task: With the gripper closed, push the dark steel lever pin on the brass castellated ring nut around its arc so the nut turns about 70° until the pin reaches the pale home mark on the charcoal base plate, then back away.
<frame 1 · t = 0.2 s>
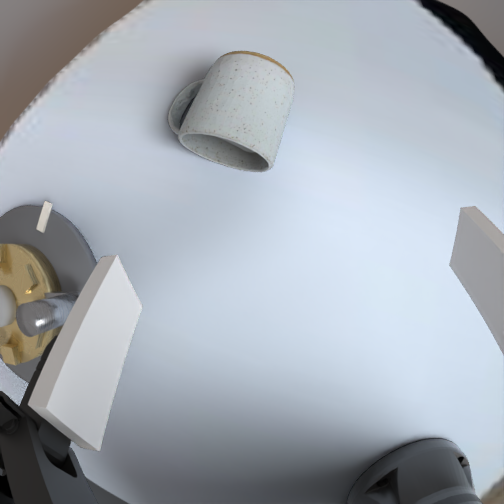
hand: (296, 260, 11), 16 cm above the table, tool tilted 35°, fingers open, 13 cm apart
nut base: (33, 298, 29), on the table
ceramic mug: (229, 127, 28), on the table
ring nut: (8, 307, 23), point 6 cm above the table, hinge at 0.0°
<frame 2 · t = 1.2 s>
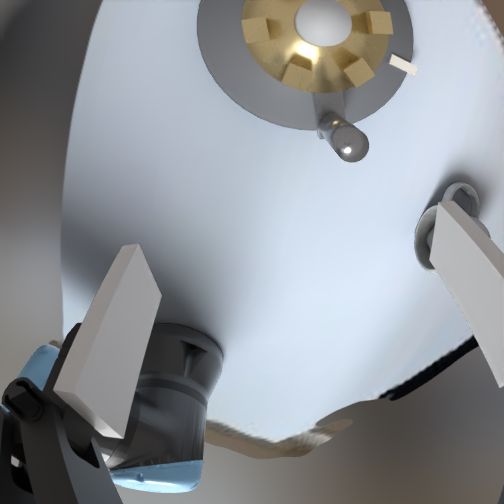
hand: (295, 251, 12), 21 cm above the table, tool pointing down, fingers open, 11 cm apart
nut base: (308, 28, 24), on the table
ceramic mug: (443, 216, 35), on the table
ring nut: (326, 47, 20), point 6 cm above the table, hinge at 0.0°
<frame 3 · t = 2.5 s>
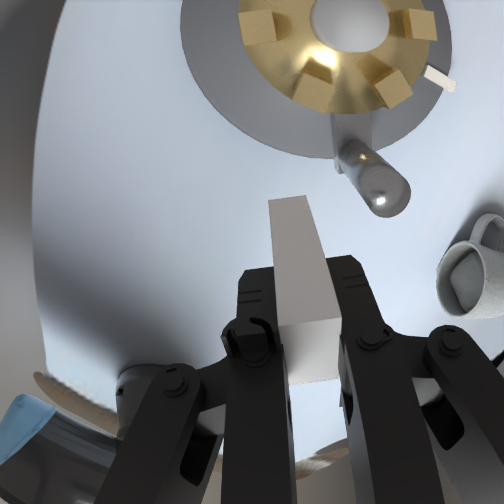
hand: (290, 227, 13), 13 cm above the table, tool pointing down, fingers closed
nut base: (324, 28, 18), on the table
ceramic mug: (468, 250, 30), on the table
ring nut: (354, 53, 14), point 6 cm above the table, hinge at 0.0°
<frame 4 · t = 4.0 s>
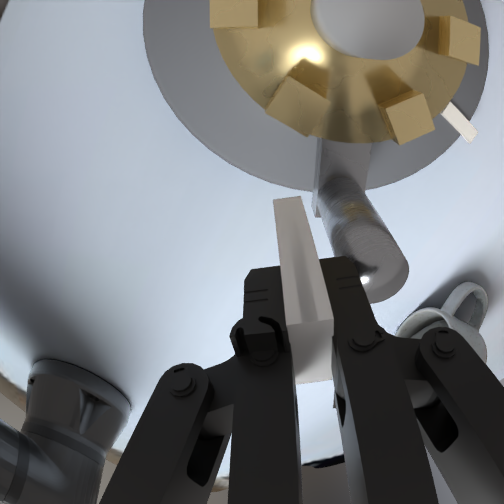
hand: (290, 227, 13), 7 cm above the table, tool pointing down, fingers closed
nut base: (331, 23, 14), on the table
ceramic mug: (436, 316, 27), on the table
ring nut: (365, 60, 10), point 6 cm above the table, hinge at 4.6°, touching gripper
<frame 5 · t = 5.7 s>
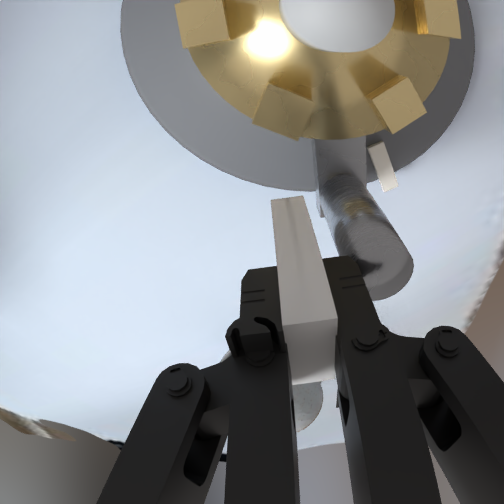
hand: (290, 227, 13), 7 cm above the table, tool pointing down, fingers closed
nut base: (309, 20, 14), on the table
ceramic mug: (282, 349, 29), on the table
ring nut: (342, 54, 10), point 6 cm above the table, hinge at 45.1°, touching gripper
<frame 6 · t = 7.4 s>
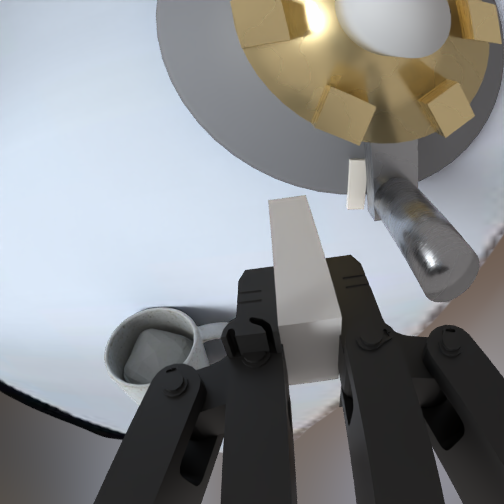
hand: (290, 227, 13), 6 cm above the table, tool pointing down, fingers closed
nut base: (350, 21, 13), on the table
ceramic mug: (186, 333, 27), on the table
ring nut: (402, 59, 9), point 6 cm above the table, hinge at 73.1°
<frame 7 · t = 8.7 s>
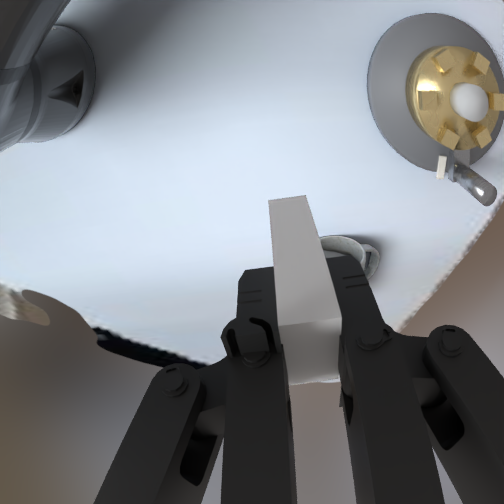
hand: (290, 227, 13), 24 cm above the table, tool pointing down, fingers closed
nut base: (442, 92, 29), on the table
ceramic mug: (338, 256, 43), on the table
ring nut: (470, 120, 26), point 6 cm above the table, hinge at 73.1°
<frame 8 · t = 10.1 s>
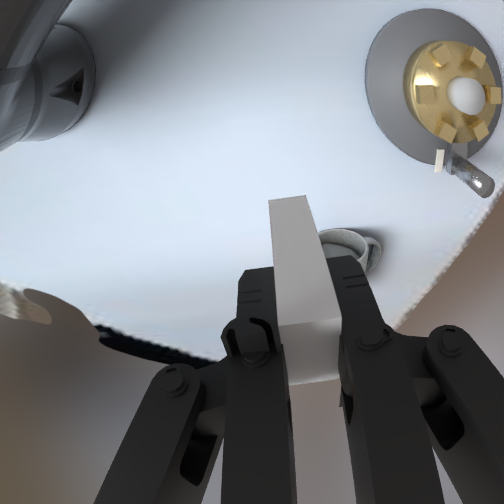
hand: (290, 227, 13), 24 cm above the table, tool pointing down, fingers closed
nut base: (439, 86, 30), on the table
ceramic mug: (341, 249, 44), on the table
ring nut: (467, 113, 26), point 6 cm above the table, hinge at 73.1°
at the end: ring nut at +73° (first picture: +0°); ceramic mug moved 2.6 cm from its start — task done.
